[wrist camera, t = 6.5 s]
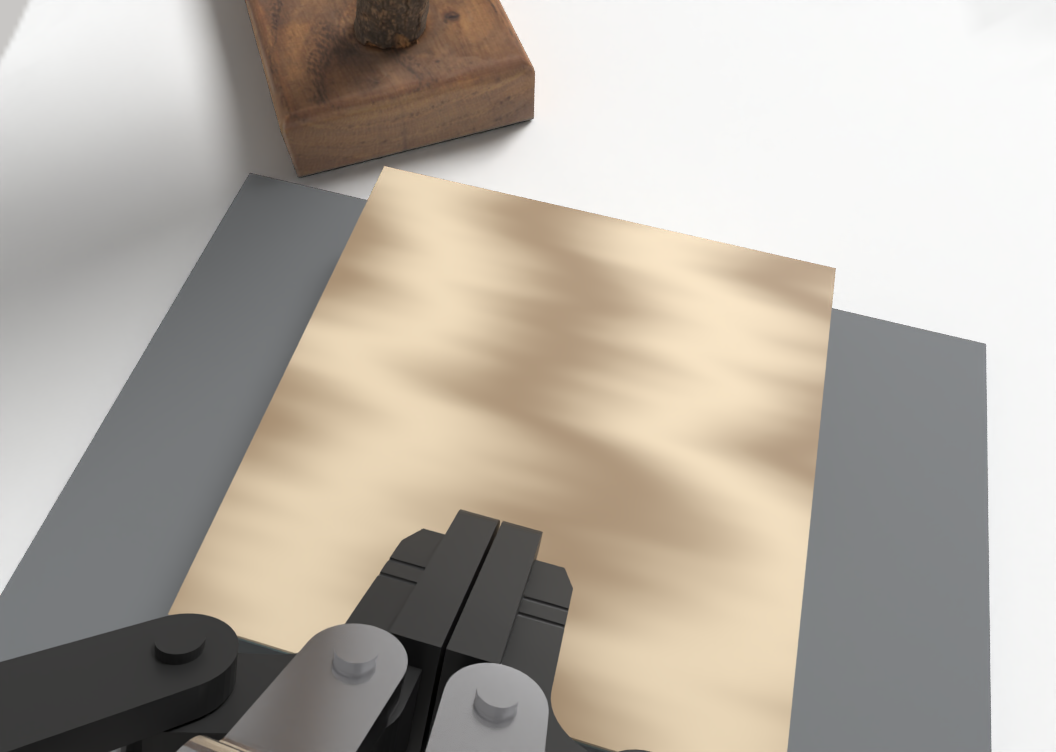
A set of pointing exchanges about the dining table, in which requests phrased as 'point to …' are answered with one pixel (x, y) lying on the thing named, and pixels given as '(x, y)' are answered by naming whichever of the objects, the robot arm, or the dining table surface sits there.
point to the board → (551, 450)
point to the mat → (813, 745)
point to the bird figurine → (388, 74)
